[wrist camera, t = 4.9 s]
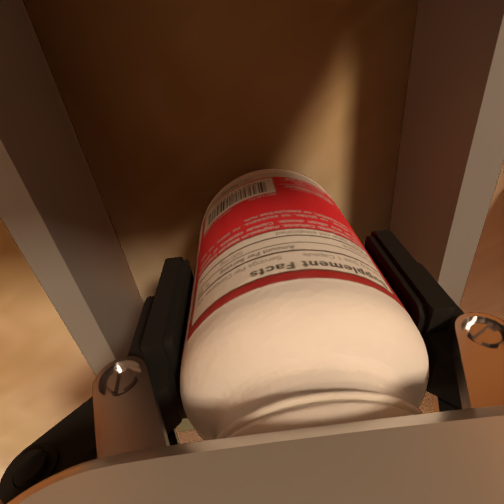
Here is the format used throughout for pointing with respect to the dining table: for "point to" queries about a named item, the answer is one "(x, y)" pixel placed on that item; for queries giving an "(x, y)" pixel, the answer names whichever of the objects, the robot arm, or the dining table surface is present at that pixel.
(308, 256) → the pill bottle
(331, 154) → the dining table surface
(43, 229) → the case
